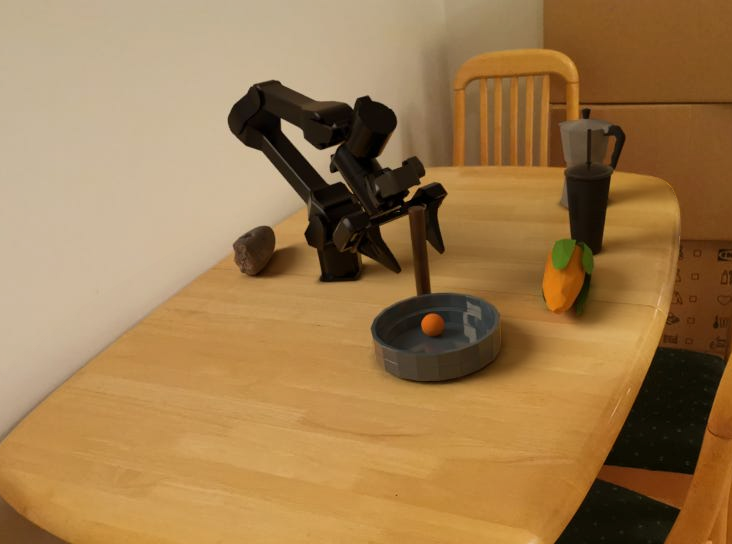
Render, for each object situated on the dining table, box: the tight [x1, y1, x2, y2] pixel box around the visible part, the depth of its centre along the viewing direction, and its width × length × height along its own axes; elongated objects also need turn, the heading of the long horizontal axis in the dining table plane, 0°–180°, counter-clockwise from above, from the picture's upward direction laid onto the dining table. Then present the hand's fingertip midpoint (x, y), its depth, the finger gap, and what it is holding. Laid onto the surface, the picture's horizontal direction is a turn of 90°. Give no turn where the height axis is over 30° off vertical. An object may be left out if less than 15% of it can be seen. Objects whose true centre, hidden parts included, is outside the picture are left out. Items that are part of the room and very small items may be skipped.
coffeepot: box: [557, 107, 627, 209], centre depth 131 cm, size 15×9×18 cm, turn 37°
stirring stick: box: [407, 206, 432, 296], centre depth 101 cm, size 4×4×16 cm
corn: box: [541, 238, 595, 316], centre depth 101 cm, size 7×8×20 cm
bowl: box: [369, 291, 502, 382], centre depth 93 cm, size 17×17×4 cm
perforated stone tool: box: [232, 225, 277, 276], centre depth 127 cm, size 15×5×7 cm, turn 167°
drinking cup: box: [563, 129, 614, 256], centre depth 112 cm, size 8×8×20 cm
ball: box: [421, 314, 444, 337], centre depth 96 cm, size 3×3×3 cm
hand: (422, 262), depth 101 cm, fingers open, 8 cm apart
